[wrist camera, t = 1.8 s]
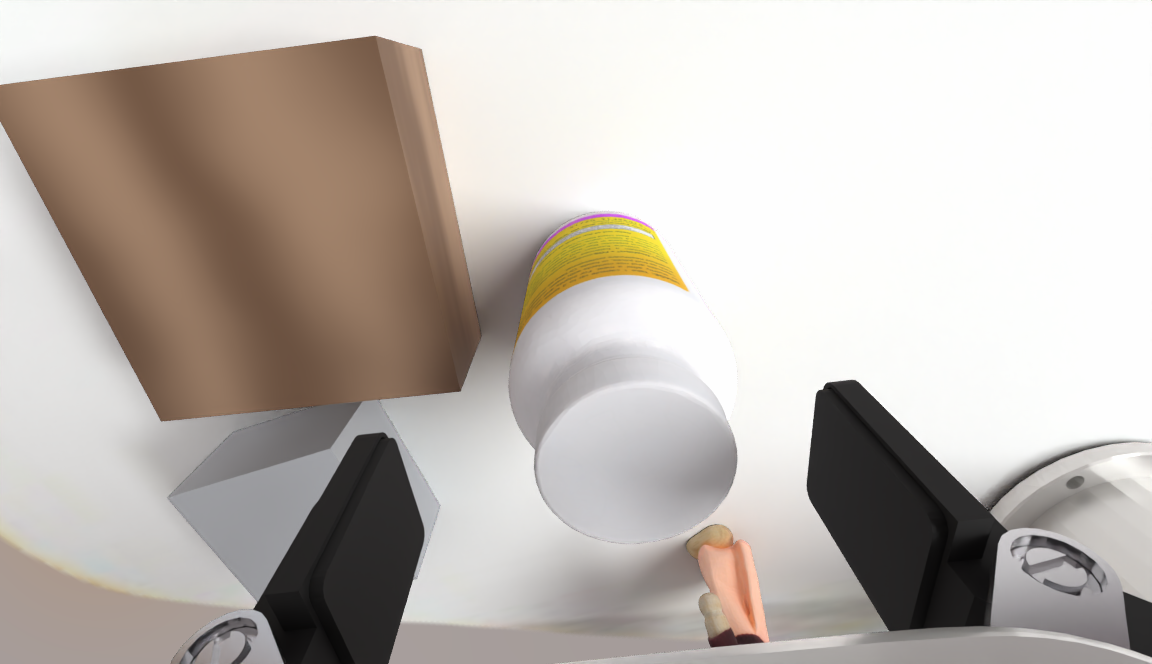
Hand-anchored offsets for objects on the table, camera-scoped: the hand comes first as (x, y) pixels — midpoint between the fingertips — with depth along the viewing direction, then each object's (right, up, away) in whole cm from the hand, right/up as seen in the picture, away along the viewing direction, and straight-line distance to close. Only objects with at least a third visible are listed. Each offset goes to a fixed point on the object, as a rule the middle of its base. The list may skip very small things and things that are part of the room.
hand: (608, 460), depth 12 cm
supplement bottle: (+1, +5, +12) cm, 13 cm away
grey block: (-13, -4, +16) cm, 22 cm away
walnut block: (-12, +7, +11) cm, 18 cm away
